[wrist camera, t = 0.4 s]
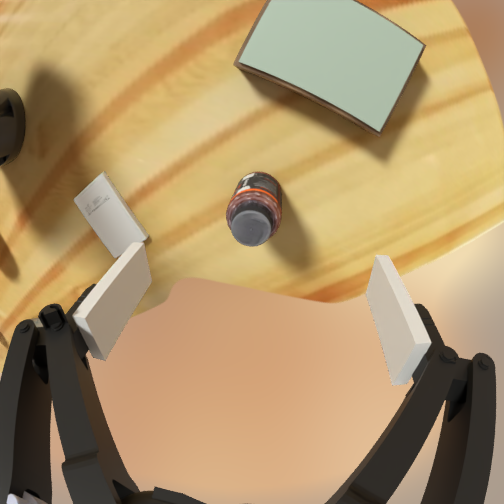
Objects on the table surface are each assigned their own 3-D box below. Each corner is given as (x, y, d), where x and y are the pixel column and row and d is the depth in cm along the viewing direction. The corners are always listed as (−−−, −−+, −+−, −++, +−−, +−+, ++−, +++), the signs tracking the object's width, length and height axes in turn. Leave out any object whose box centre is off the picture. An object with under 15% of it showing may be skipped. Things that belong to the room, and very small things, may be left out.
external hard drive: (118, 254, 46) (77, 196, 41) (150, 234, 43) (106, 170, 38) (114, 259, 44) (71, 200, 39) (146, 239, 42) (100, 173, 37)
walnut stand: (238, 68, 30) (232, 63, 25) (284, -17, 23) (285, -32, 18) (368, 132, 32) (381, 137, 28) (411, 49, 25) (428, 44, 21)
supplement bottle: (236, 170, 36) (219, 199, 27) (282, 171, 36) (283, 200, 26) (237, 212, 40) (222, 253, 30) (280, 213, 39) (280, 256, 29)
